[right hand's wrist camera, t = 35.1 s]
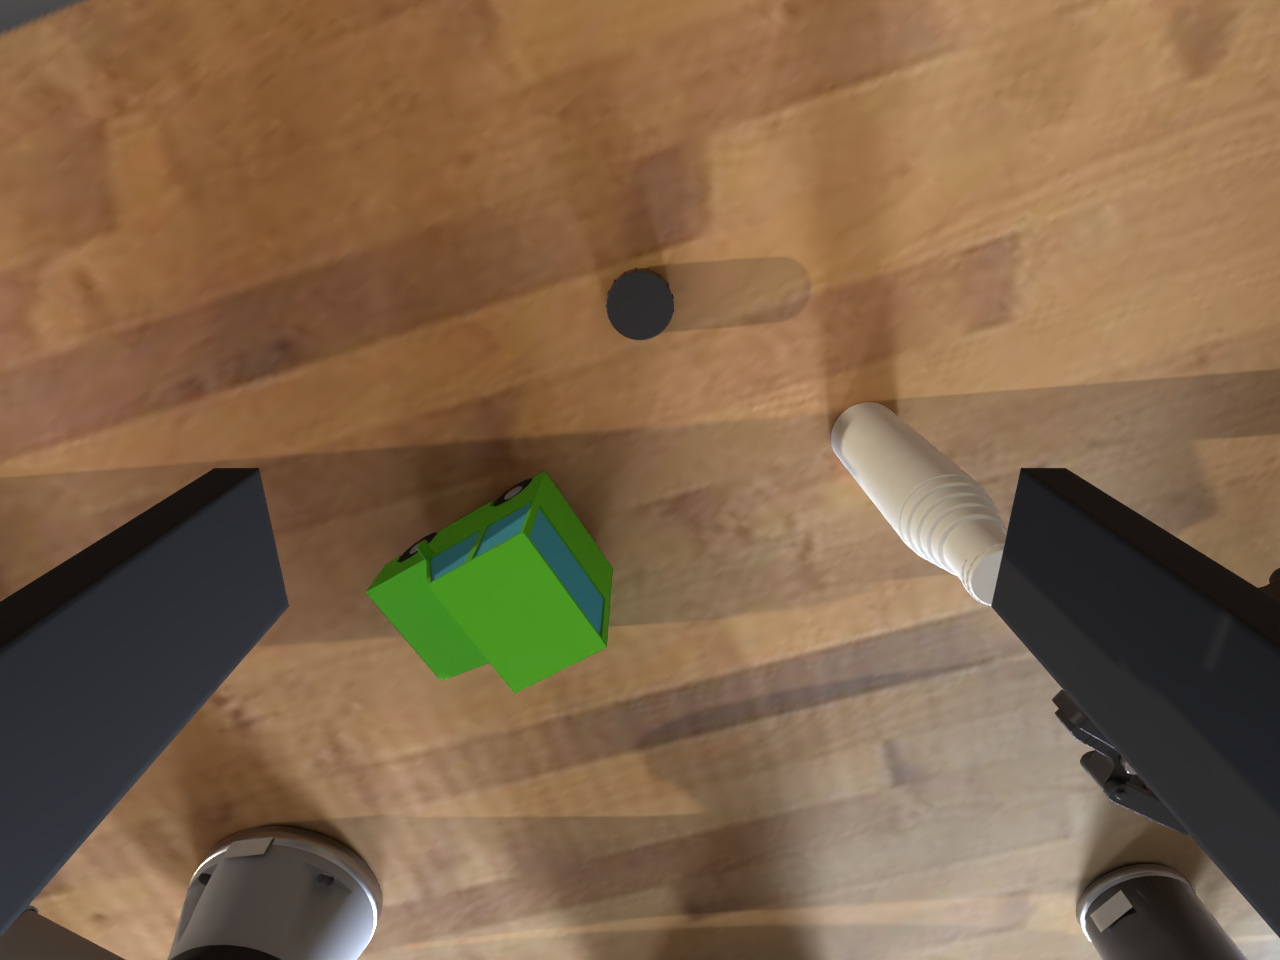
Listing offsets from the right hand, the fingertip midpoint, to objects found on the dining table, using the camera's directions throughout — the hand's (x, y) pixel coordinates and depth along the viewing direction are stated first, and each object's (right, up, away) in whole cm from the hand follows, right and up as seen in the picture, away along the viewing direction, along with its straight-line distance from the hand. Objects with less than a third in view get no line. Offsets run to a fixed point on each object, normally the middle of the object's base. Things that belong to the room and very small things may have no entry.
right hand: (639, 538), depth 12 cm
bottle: (+14, +4, +32) cm, 35 cm away
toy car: (-10, -4, +35) cm, 37 cm away
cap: (0, +11, +27) cm, 30 cm away
